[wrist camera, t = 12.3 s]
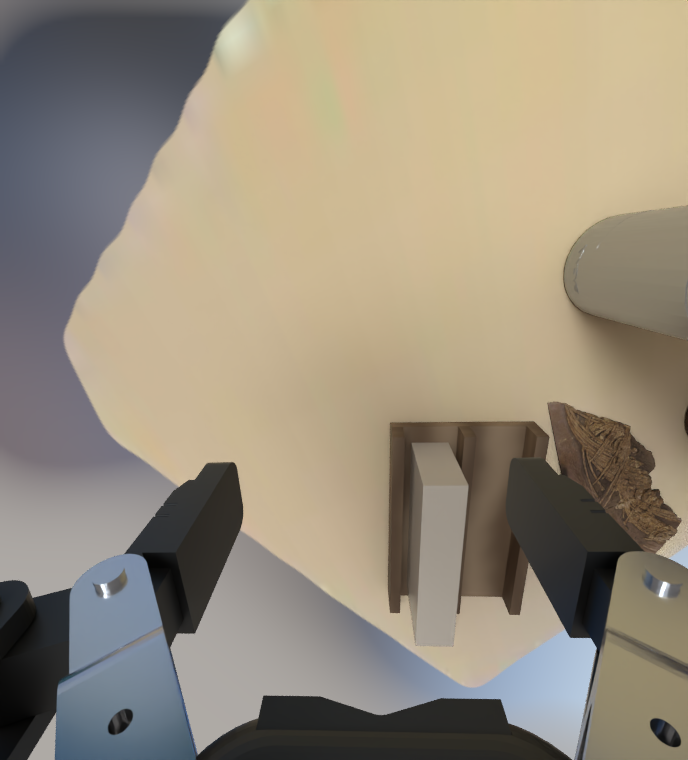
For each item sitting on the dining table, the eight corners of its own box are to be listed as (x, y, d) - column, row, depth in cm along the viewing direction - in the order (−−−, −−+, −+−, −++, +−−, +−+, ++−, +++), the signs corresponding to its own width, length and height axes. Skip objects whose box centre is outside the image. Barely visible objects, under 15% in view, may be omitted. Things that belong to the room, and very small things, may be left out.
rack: (534, 421, 41) (549, 436, 38) (508, 590, 49) (519, 614, 45) (390, 422, 42) (393, 437, 38) (388, 588, 49) (390, 612, 46)
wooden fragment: (688, 540, 45) (696, 546, 44) (600, 576, 48) (605, 583, 47) (610, 368, 39) (616, 372, 38) (512, 419, 41) (516, 424, 40)
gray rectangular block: (448, 442, 41) (468, 485, 33) (438, 583, 47) (453, 646, 40) (411, 442, 41) (423, 485, 34) (406, 583, 48) (415, 645, 40)
